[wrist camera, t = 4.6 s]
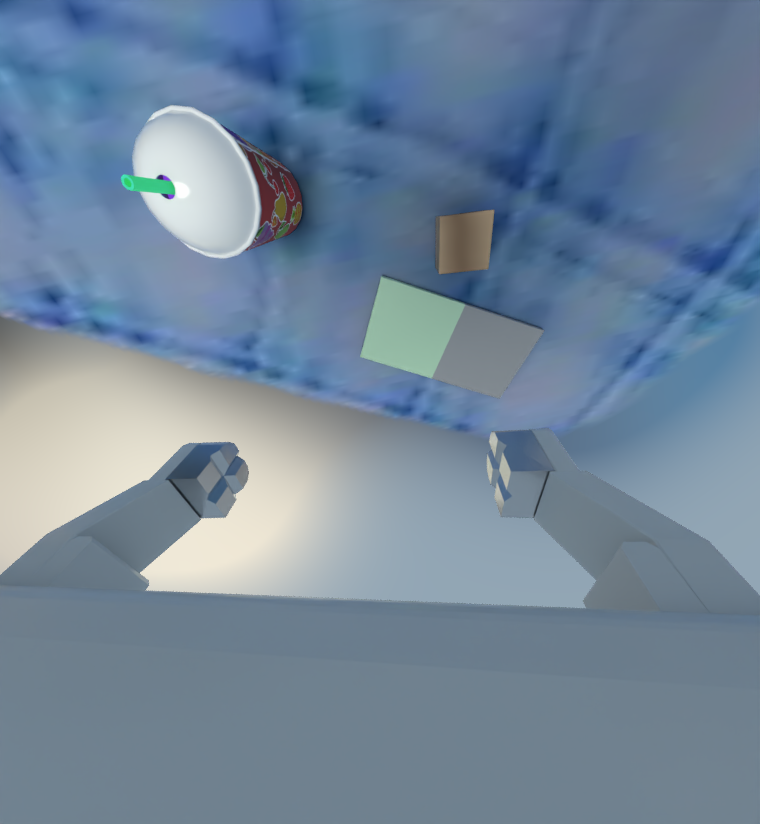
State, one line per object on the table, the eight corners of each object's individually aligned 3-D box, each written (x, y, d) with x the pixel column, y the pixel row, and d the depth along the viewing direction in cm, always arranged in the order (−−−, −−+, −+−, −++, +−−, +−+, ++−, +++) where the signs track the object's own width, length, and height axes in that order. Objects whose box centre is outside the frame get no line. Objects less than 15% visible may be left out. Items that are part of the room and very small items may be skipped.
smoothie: (258, 125, 27) (37, -9, 11) (327, 194, 30) (232, 168, 14) (226, 206, 31) (32, 195, 15) (290, 260, 34) (183, 301, 18)
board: (541, 328, 36) (544, 330, 35) (497, 395, 43) (499, 398, 42) (381, 275, 34) (381, 276, 33) (361, 354, 40) (360, 356, 40)
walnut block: (482, 210, 30) (494, 209, 26) (478, 262, 33) (488, 269, 28) (435, 216, 30) (439, 216, 26) (435, 267, 33) (439, 274, 29)
